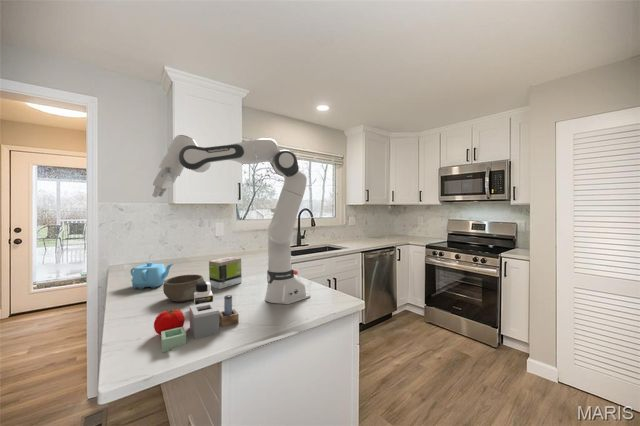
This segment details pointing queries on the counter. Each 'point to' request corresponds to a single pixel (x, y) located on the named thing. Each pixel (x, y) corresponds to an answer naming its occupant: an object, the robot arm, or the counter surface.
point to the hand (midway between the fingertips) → (157, 196)
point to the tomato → (169, 320)
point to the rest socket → (172, 338)
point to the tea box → (225, 272)
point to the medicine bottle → (203, 293)
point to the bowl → (181, 287)
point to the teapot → (149, 275)
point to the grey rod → (227, 305)
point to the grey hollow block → (204, 319)
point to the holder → (228, 318)
